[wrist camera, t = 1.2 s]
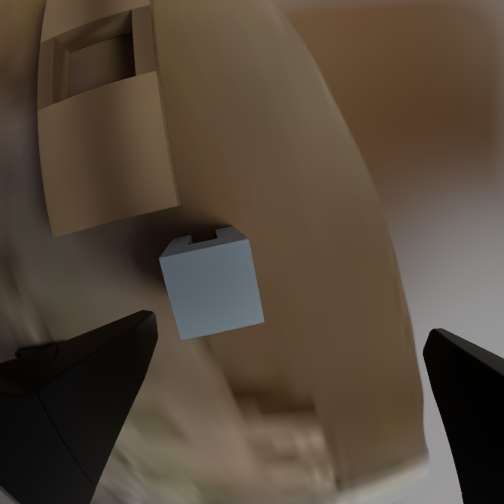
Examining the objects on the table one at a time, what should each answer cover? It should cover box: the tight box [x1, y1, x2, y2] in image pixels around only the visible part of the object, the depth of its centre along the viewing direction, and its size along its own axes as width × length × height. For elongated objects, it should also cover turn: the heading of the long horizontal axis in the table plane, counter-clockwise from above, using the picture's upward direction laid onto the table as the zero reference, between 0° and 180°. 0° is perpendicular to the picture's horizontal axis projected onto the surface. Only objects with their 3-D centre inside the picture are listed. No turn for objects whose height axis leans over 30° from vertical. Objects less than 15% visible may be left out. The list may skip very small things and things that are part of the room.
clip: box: [159, 226, 264, 340], centre depth 16 cm, size 4×4×7 cm
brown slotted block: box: [37, 0, 182, 238], centre depth 15 cm, size 8×20×3 cm, turn 10°
